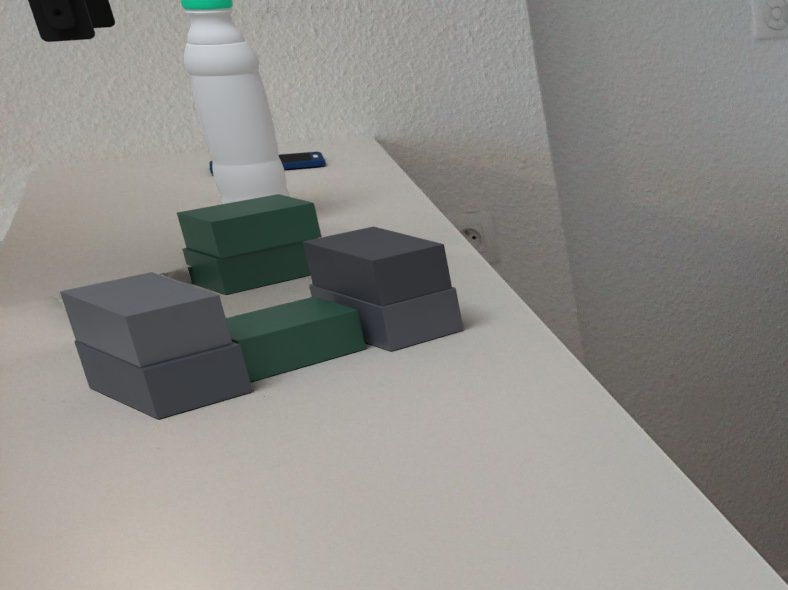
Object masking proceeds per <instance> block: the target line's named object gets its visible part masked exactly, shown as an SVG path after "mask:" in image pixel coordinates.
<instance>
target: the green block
mask: <svg viewBox="0 0 788 590" xmlns="http://www.w3.org/2000/svg"><path fill="white" fill-rule="evenodd" d="M226 321H227V325H228V329H229V332H230V336H231V340H232V342H234V343H237V344H240V346H241V350H242V354H243V358H244V361H245V365H246V369H247V372H248V376H249V380H250V383H252V382H255V381H258V380H263V379H266V378H269V377H272V376H276V375H280V374H283V373H287V372H290V371H293V370H297V369H301V368H304V367H307V366H312V365H315V364H318V363H321V362H325V361H328V360H332V359H336V358H338V357H343V356H345V355H349V354H352V353H356V352H360V351H363V350H366V349H367V347H366V346H367V345H366V343H365V341H364V337H363V332H362V327H361V323H360V318H359V314H358V310H357V309H353V308H350V307H347V306H344V305H341V304H338V303H334V302H331V301H328V300H325V299H322V298H318V297H315V296H314V297H312V296H309V297H306V298H302V299H298V300H294V301H290V302H285V303H282V304H281V303H280V304H277V305H273V306H269V307H265V308H262V309H257V310H253V311H249V312H245V313H241V314H237V315H233V316H229V317H228V316H227V317H226Z"/></svg>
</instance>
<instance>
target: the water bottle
mask: <svg viewBox="0 0 788 590" xmlns="http://www.w3.org/2000/svg"><path fill="white" fill-rule="evenodd" d="M180 4H181V6H182V8H183V10H185V11H184V13H185V14H186V15H187V16H188V18H189V20H190V27H189V29H188V32H187V34H186V41H187V43H186V44H185V47H184V52H183V56H182V57H183V65H184V67H185V70H186V72H187V73H188V74H189V80H190V87H191V92H192V97H193V102H194V105H195V110H196V115H197V118H198V122H199V125H200V129H201V133H202V137H203V139H204V143H205V146H206V148H207V152H208V155H209V158H210V161H212V163H213V164H212V168H213V174H212V175H213V180H214V183H215V187H216V188H217V191H218V194H219V195H220V196H219V197H220V205H221V204H226V203H232V202H237V201H243V200H248V199H254V198H259V197H265V196H271V195H276V194H280V195H284V196H288V197H291V195H290V194H289V190H288V184H287V183H288V182H287V177H286V172H285V169H284V168H283V165H282V162H281V160H280V158H279V154H280V153H279V146H278V141H277V140H278V139H277V134H276V129H275V125H274V122H273V116H272V112H271V108H270V104H269V100H268V96H267V93H266V89H265V86H264V82H263V80H262V77H261V74H260V71H259V69H260V61H259V57H258V55H257V53H256V51H255V50H254V48H253V47H252V46H251V44H250V43H249V42H248V41H247V40H246V38H245V36H244V34H243V32H242V31H241V30H240V29H239V27H238V26H237V25H236V24H235V22H234V21H233V19H232V13H233V12H234V9H233V5H234V4H233V0H180Z"/></svg>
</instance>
